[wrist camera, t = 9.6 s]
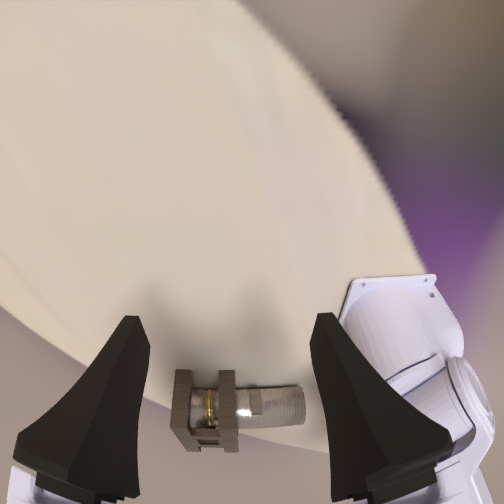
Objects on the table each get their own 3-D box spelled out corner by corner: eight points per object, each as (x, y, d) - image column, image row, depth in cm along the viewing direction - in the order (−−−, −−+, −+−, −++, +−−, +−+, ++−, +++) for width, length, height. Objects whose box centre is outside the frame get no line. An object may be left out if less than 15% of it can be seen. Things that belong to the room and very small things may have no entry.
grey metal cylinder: (301, 376, 32) (308, 415, 28) (294, 397, 36) (300, 432, 32) (177, 379, 32) (174, 419, 27) (186, 400, 35) (184, 435, 31)
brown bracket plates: (234, 370, 31) (236, 429, 25) (236, 405, 37) (238, 452, 31) (175, 369, 31) (169, 427, 25) (189, 405, 37) (187, 451, 31)
